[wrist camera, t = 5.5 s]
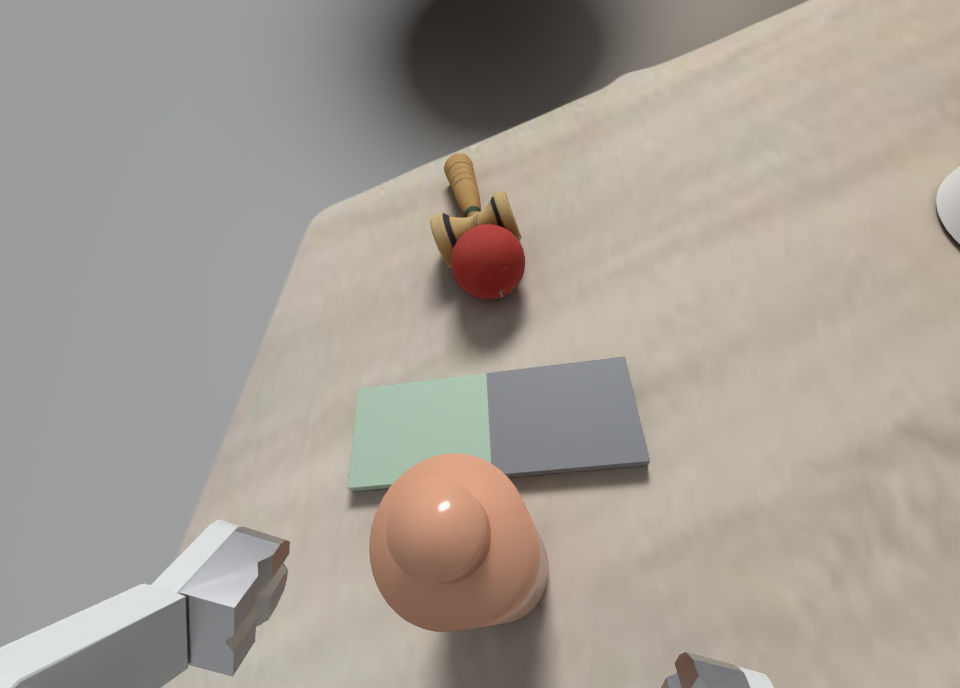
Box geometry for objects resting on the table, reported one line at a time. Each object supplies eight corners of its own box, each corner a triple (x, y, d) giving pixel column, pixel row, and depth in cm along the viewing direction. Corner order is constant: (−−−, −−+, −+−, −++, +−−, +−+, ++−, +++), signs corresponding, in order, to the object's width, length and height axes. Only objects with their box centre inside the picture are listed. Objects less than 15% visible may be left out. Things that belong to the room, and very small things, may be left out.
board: (623, 363, 33) (624, 356, 32) (647, 465, 29) (649, 460, 28) (363, 393, 35) (358, 388, 34) (353, 491, 31) (347, 487, 30)
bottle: (542, 510, 28) (516, 428, 16) (554, 621, 25) (534, 630, 13) (450, 517, 29) (356, 445, 17) (451, 626, 26) (335, 638, 13)
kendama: (422, 203, 48) (447, 321, 36) (414, 144, 43) (440, 258, 31) (493, 194, 49) (539, 306, 37) (493, 135, 44) (546, 243, 32)
